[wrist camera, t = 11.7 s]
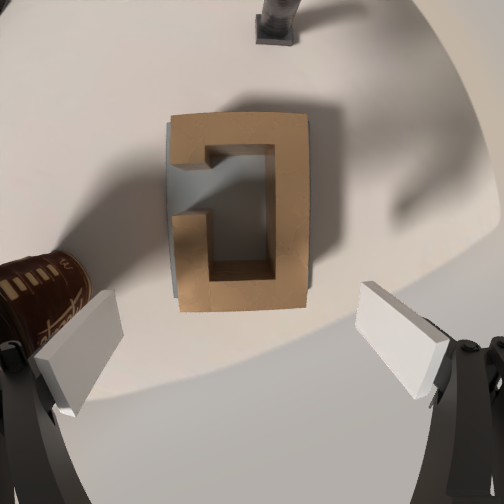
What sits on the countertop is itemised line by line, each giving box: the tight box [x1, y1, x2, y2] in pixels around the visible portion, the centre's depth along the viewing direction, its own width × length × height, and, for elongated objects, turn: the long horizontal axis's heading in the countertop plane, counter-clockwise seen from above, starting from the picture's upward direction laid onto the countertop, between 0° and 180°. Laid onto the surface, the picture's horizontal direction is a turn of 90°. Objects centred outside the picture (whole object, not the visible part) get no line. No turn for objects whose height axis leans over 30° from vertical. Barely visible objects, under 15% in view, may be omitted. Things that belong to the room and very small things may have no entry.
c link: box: [170, 112, 309, 312], centre depth 18 cm, size 12×8×5 cm, turn 1°
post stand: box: [255, 0, 301, 46], centre depth 13 cm, size 3×3×10 cm
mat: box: [166, 121, 310, 298], centre depth 21 cm, size 14×11×1 cm
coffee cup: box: [0, 251, 91, 370], centre depth 15 cm, size 9×8×13 cm
